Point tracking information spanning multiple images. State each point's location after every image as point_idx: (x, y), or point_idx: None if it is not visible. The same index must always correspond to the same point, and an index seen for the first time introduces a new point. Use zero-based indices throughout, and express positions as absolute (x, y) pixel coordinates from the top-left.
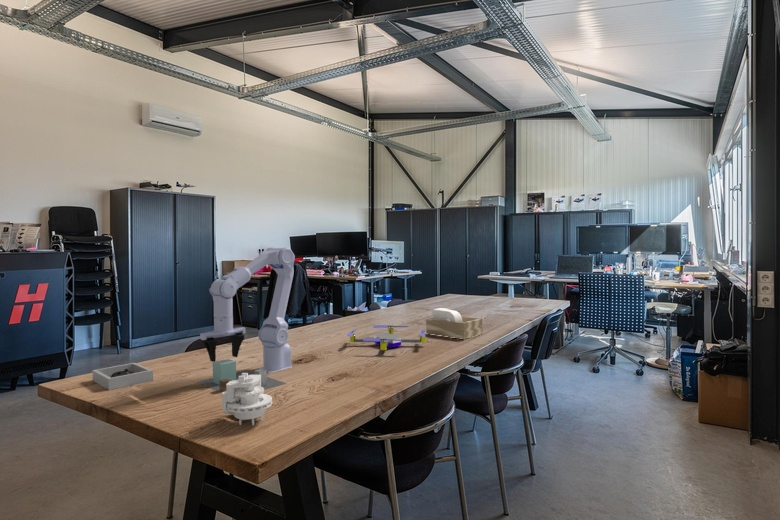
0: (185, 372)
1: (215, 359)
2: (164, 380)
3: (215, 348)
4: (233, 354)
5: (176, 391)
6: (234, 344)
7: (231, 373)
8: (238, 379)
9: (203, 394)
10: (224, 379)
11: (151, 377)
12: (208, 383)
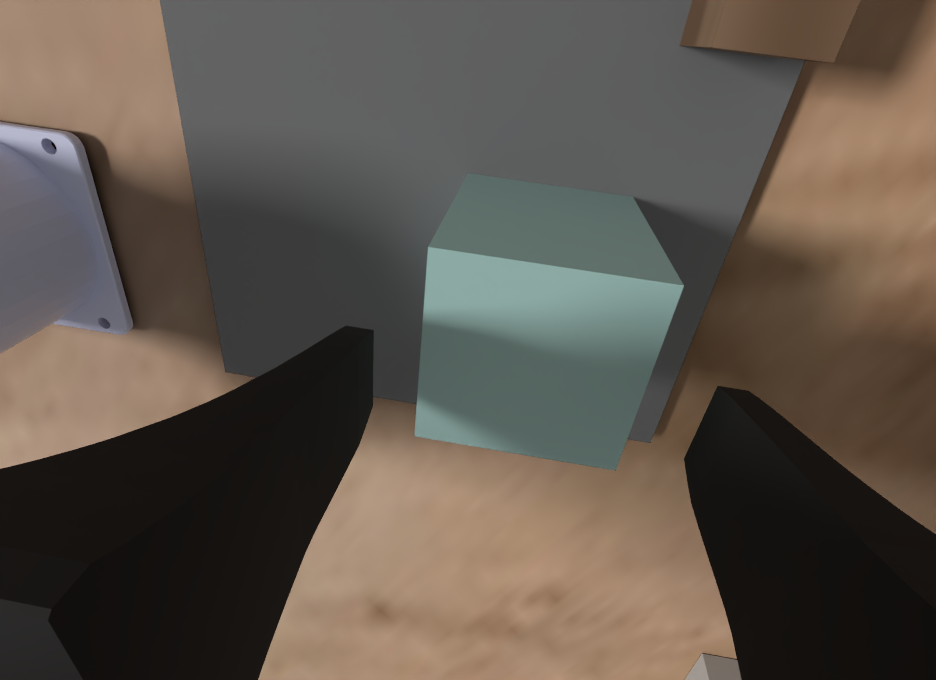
0: (496, 631)
1: (734, 397)
2: (670, 619)
3: (877, 544)
4: (363, 401)
5: (861, 414)
6: (280, 519)
7: (513, 209)
8: (411, 217)
9: (887, 147)
10: (772, 34)
11: (718, 677)
12: None
